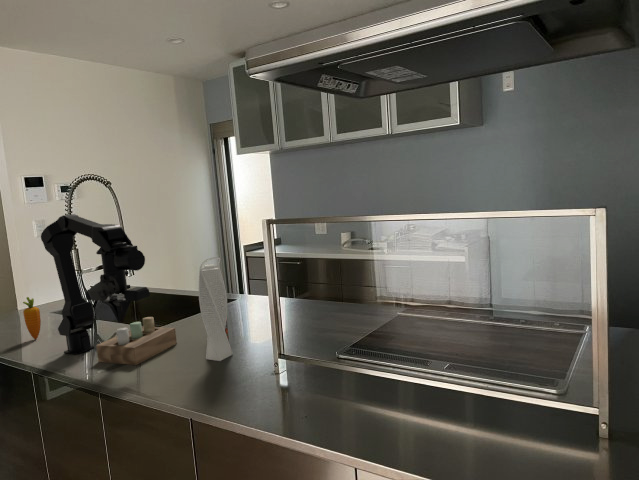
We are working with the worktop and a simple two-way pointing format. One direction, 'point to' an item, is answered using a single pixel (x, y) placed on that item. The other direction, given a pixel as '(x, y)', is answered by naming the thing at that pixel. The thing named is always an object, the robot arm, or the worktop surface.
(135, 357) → the wooden plug holder
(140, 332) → the plug green
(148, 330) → the plug beech
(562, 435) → the worktop surface
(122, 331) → the plug grey
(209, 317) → the skyscraper
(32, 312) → the carrot
